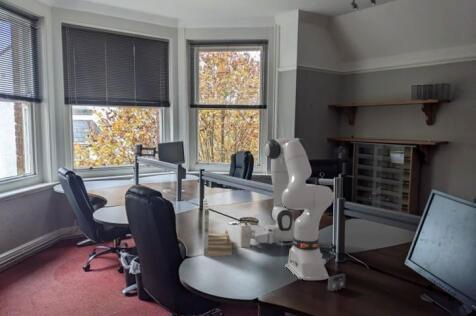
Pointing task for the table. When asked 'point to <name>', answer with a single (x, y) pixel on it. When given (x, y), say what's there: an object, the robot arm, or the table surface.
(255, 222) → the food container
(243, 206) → the table surface
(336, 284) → the mini dv tape
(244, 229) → the cabinet block
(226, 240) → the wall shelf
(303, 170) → the robot arm
